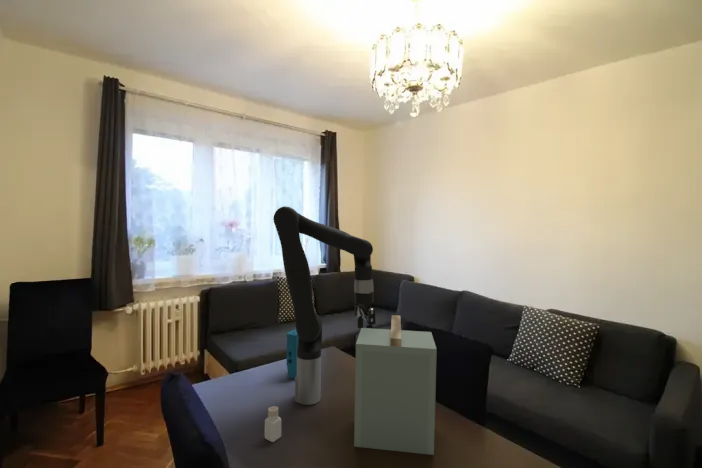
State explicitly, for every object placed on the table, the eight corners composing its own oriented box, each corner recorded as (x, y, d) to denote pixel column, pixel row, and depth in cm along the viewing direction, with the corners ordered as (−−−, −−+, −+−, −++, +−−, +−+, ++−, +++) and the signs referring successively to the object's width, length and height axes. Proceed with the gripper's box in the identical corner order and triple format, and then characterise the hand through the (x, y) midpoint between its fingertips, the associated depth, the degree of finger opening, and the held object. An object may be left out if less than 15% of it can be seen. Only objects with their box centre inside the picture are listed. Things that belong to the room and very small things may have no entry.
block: (294, 381, 148) (295, 335, 147) (285, 378, 150) (285, 333, 149) (310, 370, 158) (311, 328, 158) (301, 368, 161) (302, 326, 160)
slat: (390, 346, 103) (390, 338, 103) (391, 321, 129) (391, 315, 129) (401, 346, 102) (401, 338, 102) (400, 321, 128) (400, 315, 128)
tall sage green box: (354, 446, 105) (355, 343, 104) (359, 417, 121) (361, 327, 120) (433, 455, 102) (436, 349, 101) (428, 423, 118) (431, 332, 117)
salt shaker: (263, 438, 108) (264, 409, 108) (273, 432, 112) (273, 404, 111) (272, 443, 106) (273, 413, 106) (282, 437, 109) (282, 407, 109)
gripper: (348, 288, 139) (349, 327, 140) (362, 295, 126) (364, 338, 127) (364, 286, 142) (365, 324, 143) (380, 292, 129) (381, 335, 130)
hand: (364, 331), depth 135 cm, fingers open, 8 cm apart
